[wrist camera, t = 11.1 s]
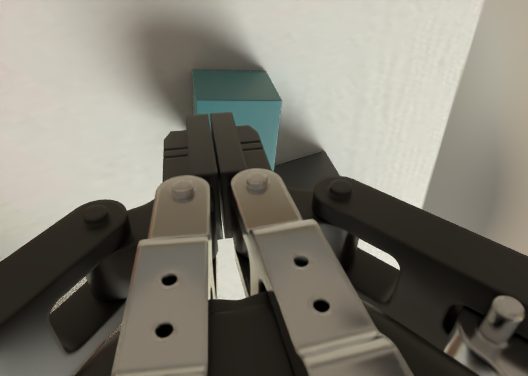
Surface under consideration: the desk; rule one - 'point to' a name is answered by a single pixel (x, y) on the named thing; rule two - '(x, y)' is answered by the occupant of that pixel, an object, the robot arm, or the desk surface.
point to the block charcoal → (306, 171)
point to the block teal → (241, 101)
